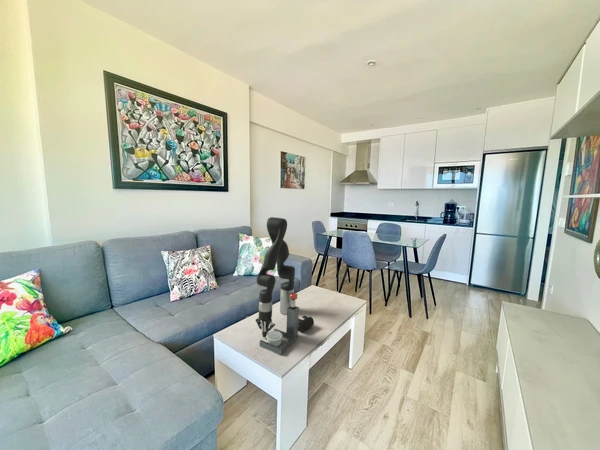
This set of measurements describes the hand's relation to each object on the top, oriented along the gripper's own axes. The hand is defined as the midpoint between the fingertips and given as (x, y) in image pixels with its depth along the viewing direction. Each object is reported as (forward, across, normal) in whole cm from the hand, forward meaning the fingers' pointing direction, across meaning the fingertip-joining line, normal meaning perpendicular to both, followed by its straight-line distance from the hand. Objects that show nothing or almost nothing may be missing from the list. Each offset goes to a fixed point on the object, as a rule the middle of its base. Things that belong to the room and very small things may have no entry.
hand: (264, 336), depth 139 cm
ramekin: (+1, -7, 0) cm, 7 cm away
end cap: (+1, -14, -21) cm, 26 cm away
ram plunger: (-14, -12, -10) cm, 21 cm away
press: (+1, -9, -3) cm, 9 cm away
